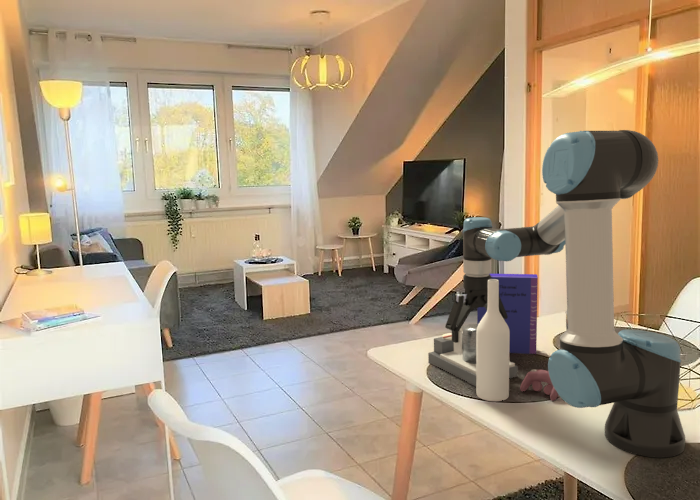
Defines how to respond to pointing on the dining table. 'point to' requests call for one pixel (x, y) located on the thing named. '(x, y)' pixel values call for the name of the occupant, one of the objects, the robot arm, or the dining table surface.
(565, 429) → the dining table surface
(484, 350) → the bottle
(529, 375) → the video game controller
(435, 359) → the platform scale
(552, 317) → the dining table surface
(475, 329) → the steel weight
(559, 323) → the dining table surface
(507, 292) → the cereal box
